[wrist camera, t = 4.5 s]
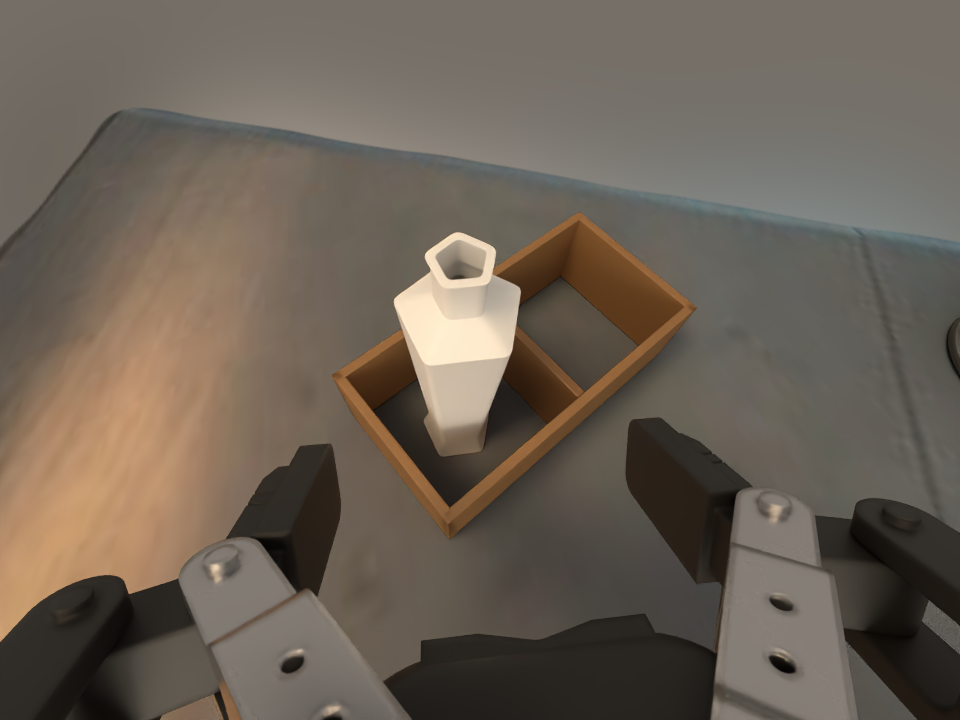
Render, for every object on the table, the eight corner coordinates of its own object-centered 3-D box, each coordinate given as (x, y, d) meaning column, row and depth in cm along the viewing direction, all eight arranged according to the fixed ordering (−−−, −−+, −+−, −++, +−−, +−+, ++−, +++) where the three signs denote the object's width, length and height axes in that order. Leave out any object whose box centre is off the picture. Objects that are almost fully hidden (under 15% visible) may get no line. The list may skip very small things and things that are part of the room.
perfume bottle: (511, 443, 27) (569, 290, 13) (442, 476, 26) (432, 345, 12) (476, 378, 29) (496, 187, 15) (410, 407, 27) (370, 227, 14)
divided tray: (560, 268, 33) (579, 211, 28) (657, 354, 30) (697, 307, 25) (353, 415, 27) (331, 375, 22) (449, 539, 24) (447, 525, 19)
